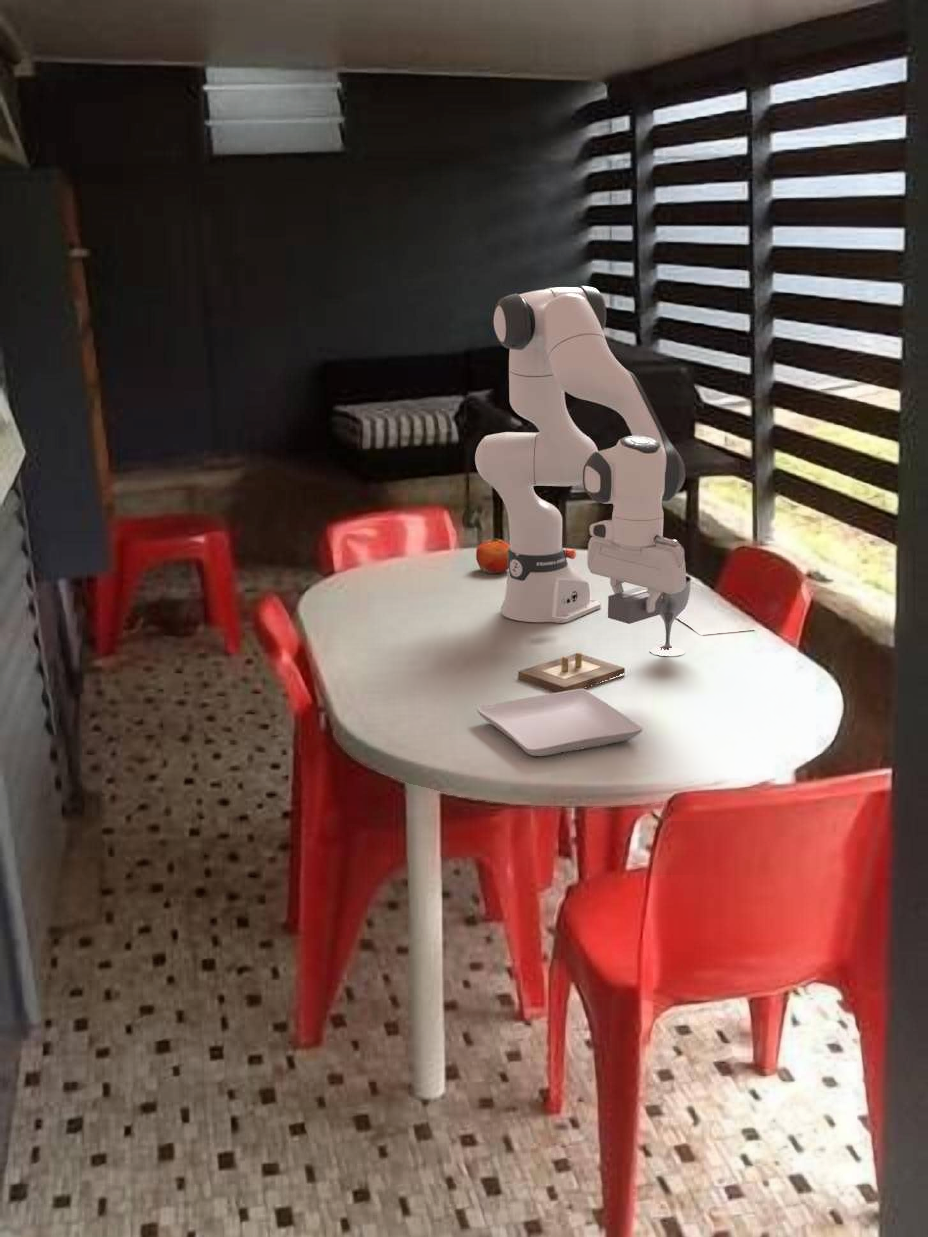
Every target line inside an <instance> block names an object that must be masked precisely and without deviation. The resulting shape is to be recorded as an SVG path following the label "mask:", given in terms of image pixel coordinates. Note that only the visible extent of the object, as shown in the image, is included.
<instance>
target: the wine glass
mask: <svg viewBox="0 0 928 1237" xmlns="http://www.w3.org/2000/svg"><path fill="white" fill-rule="evenodd" d="M691 585H692V578H691V576H689V575H687V574H686V586H685V588H684V589H683V590H682V591H681V592H678V593H674V594H668V593H664V592H661V614H660V615H659V616H660V617H661V619H662V620H663V623H664V628H665V643H664V645H661V646H662V647H660V648H661V650H662V648H663V649H664V650H666V649H667V650H669V648H672V646H673V645H671V644H670V643H671V642H670V641H671V640H670V639H671V630H672V625H673V623H674V621H675V620H676V617H677V616H678V615H679V614H680V613H681V612H682V611H683V610H684V609H685V607H686V605H688V602H689V600H690V594H691V587H692V586H691Z"/></svg>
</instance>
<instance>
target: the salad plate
mask: <svg viewBox="0 0 928 1237" xmlns="http://www.w3.org/2000/svg"><path fill="white" fill-rule="evenodd" d="M475 710H476V712H477V713H478V715H479V716H480V717H482V719H484V720H485V721H486V722H488V723H489V724H490V725H492V727H495V728H497V729H498V730H499V731H500V732H501V733H503V734H505V735H506V737H508V738H510V739H511V740H512V742H514V743H516V744H517V745H518V746H519V747H520V748H521V749H522V750H523V751H524V752H525V753H526V754H528V755H531V756H534V757H547V756H550V755H551V756H552V755H557V753H558V754H561V752H563V753H568V752H567V751H569V752H573V751H572V750H575V751H578V750H577V749H581V750H583V749H582V748H586V749H589V748H588V747H591V748H594V747H593V746H596V747H599V746H598V745H602V746H605V745H604V744H607V745H609V743H611V744H615V742H616V743H620V742H624V741H627V740H631V739H632V738H634V737H636V736H638V735H640V733H641V732H642V731H643V727H642V726H641V725H639V724H638V723H636V721H634V720H632V719H630V718H629V717H627V716H626V715H625V714H623V713H622V712H620V711H618V710H617V709H615V708H614V707H613V706H611V705H609V704H608V703H607V702H605V701H604V700H602V699H601V698H600V697H598V696H596V695H595V694H594V693H591V692H590V691H589V690H587V689H586V688H585V689H575V690H570V691H563V692H553V693H545V694H540V695H539V694H538V695H534V696H529V697H523V698H518V699H511V700H506V701H501V702H500V701H499V702H496V703H489V704H484V705H483V704H482V705H480V706H476V709H475Z"/></svg>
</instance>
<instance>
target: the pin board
mask: <svg viewBox="0 0 928 1237" xmlns="http://www.w3.org/2000/svg"><path fill="white" fill-rule="evenodd" d="M625 671H626V670H625V667H624V666H620V665H617V664H614V663H611V662H608V661H605V660H602V659H599V658H595V657H592V656H589V655H586V654H583V653H582V652H576V653H573V654H570V655H567V656H566V655H565V656H562V657H560V658H557V659H554V660H551V661H550V660H549V661H547V662H544V663H540V664H538V665H534V666H531V667H528V668H524V669H521V670H517V673H518V674H517V679H518V680H521V681H524V682H526V683H529V684H531V683H532V684H531V685H535V686H538V687H540V688H542V689H546V690H548V689H549V691H551V690H552V691H551V692H553V693H557V692H563V691H570V690H575V689H584V688H585V687H588V688H591V687H592V686H591V685H594V686H596V685H595V684H597V683H600V682H602V681H605V680H609V679H610V678H613V677H616V676H619V675H620V674H623V673H625ZM625 674H626V673H625ZM609 681H610V680H609ZM600 684H601V683H600ZM597 685H598V684H597ZM590 686H591V687H590ZM585 689H586V688H585Z"/></svg>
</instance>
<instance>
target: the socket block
mask: <svg viewBox="0 0 928 1237" xmlns="http://www.w3.org/2000/svg"><path fill="white" fill-rule="evenodd" d="M649 595H650V594H648V593H647V588H645V587H641V586H639V587H635V588H632V589H628V590H624V592H621V593H617V594H610V595H608V597H607V598H608V599H607V600H608V602H607V618H608V619H610V620H614V621H618V622H622V623H625V624H629V625H630V624H634V623H637V622H640V621H643V620H647V619H649V618H654V617H656V616H660V614H661V594H660V596H659V597H658V599H657V601H656V602H655V610H654V611H653V612H650V613H649V612H646V611H643V610H642V607H643V606H642V602H643V601H647V599H648V597H649Z"/></svg>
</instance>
